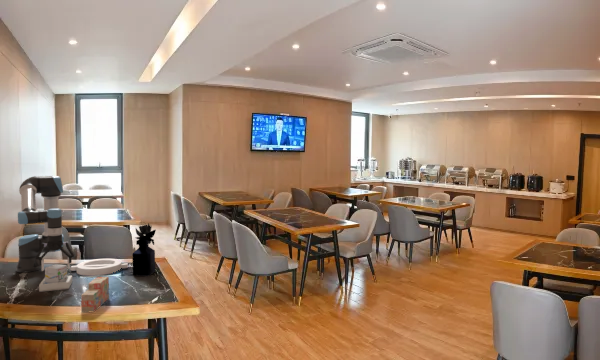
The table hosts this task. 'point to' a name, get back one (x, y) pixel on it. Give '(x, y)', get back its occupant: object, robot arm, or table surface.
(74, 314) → the table surface
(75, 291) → the table surface
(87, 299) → the stack of blocks
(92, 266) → the ring with crossbar
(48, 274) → the ink box
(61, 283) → the box
